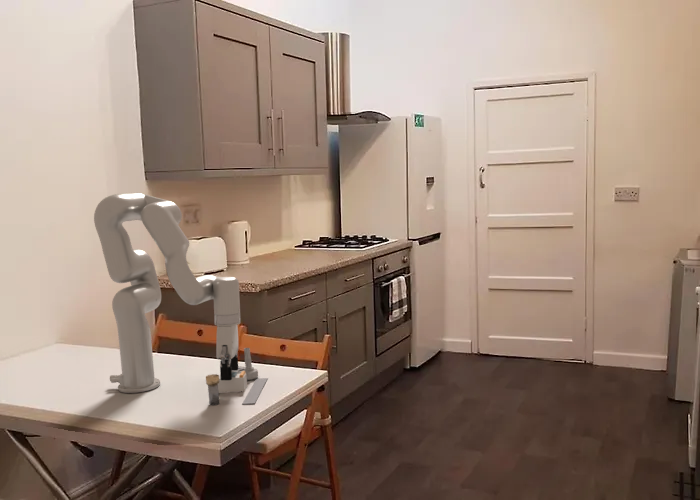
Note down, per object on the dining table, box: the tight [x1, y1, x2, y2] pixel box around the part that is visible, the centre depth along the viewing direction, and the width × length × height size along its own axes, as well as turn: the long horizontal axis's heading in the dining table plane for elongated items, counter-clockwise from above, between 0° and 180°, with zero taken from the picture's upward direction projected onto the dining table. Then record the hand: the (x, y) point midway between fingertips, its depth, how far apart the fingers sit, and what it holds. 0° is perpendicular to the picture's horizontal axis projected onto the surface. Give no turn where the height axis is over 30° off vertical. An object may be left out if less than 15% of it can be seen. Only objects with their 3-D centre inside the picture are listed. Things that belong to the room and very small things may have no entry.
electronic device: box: [232, 347, 259, 381], centre depth 222 cm, size 5×10×15 cm
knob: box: [205, 374, 221, 406], centre depth 195 cm, size 4×4×8 cm
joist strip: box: [241, 377, 268, 406], centre depth 205 cm, size 4×24×1 cm, turn 178°
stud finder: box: [218, 371, 248, 394], centre depth 208 cm, size 8×4×5 cm, turn 88°
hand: (229, 375), depth 208 cm, fingers open, 9 cm apart
